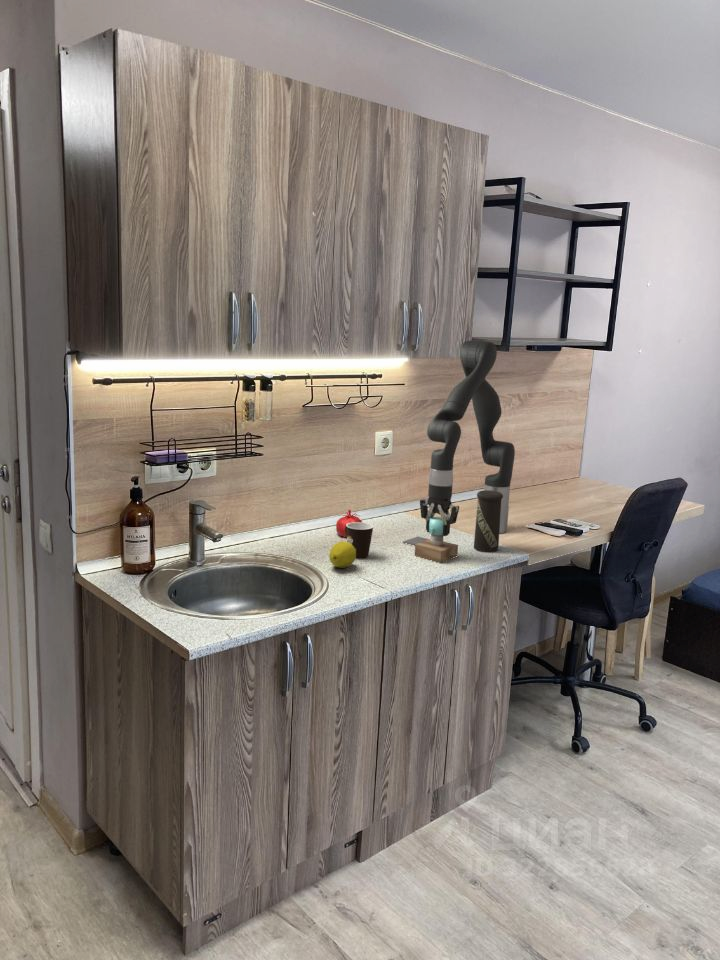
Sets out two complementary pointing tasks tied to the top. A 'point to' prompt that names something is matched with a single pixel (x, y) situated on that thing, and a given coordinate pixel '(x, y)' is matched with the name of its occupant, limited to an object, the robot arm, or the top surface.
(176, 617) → the top surface
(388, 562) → the top surface
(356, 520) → the pomegranate
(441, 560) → the post block
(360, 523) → the coffee mug
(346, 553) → the lemon
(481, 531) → the container
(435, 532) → the teal rounded tabbed figurine
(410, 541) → the coaster
